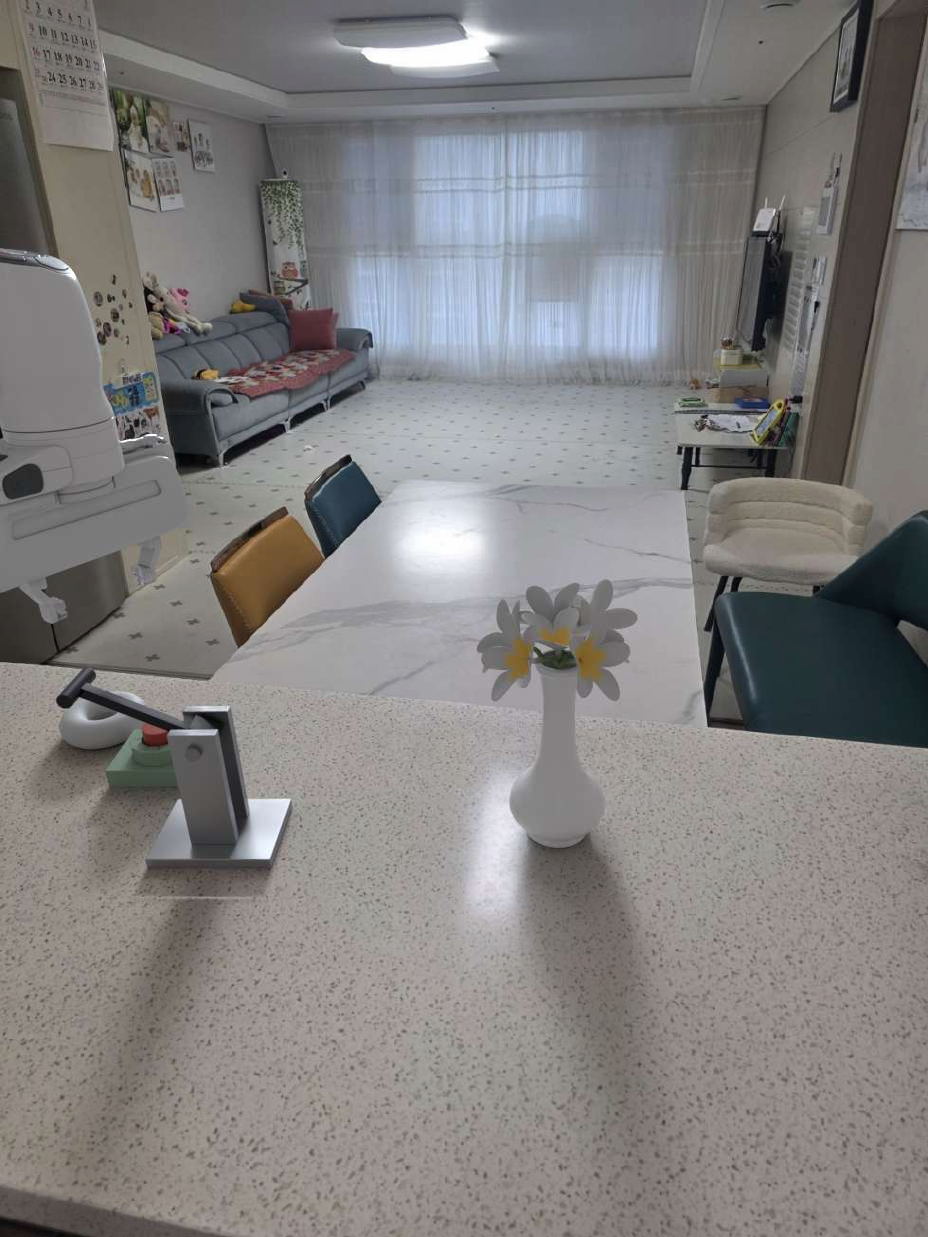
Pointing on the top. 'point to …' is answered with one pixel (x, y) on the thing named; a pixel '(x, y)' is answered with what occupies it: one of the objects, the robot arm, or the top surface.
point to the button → (154, 735)
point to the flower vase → (558, 700)
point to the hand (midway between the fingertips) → (103, 600)
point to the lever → (126, 705)
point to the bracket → (215, 804)
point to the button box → (141, 765)
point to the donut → (98, 724)
